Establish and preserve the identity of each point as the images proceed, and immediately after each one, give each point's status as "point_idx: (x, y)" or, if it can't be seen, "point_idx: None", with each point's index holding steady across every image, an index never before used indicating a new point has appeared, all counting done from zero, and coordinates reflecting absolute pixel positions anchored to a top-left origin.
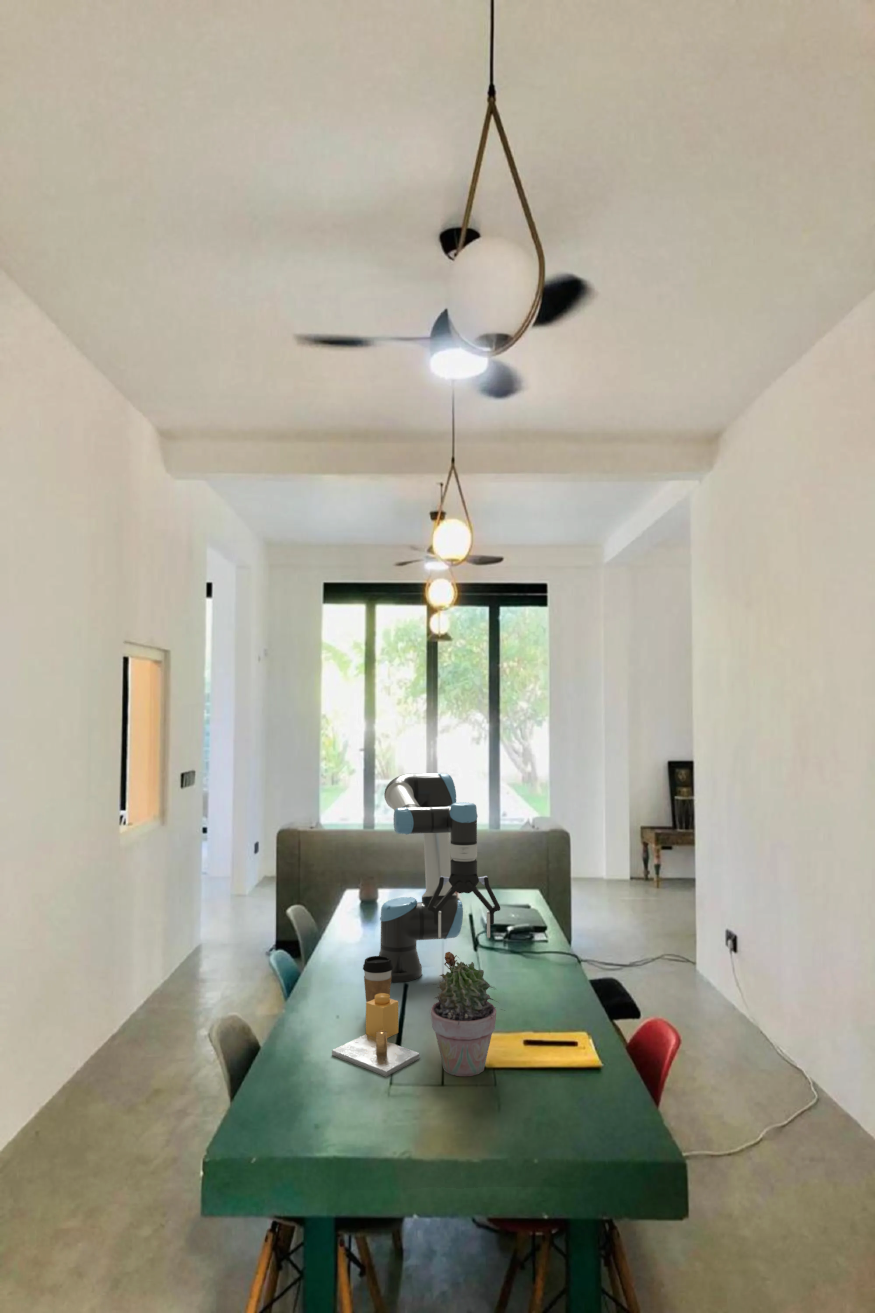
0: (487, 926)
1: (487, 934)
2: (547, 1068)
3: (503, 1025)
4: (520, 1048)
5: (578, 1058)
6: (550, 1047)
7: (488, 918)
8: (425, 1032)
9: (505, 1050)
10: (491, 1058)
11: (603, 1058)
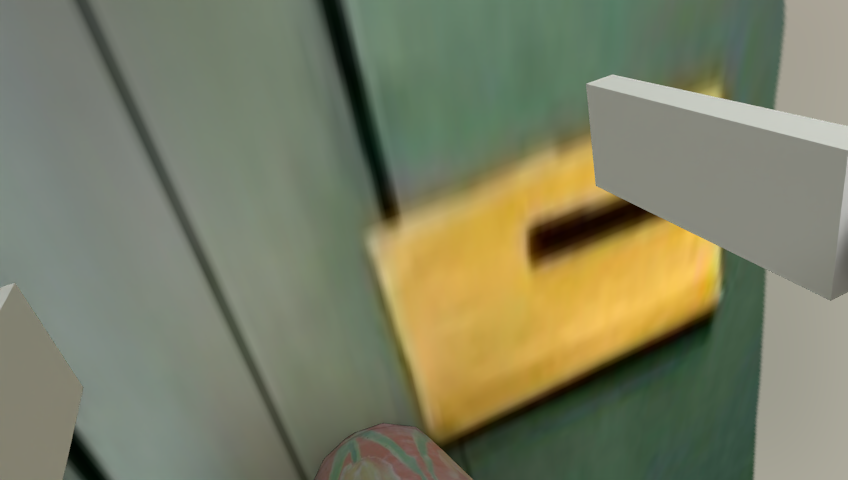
0: (683, 225)
1: (619, 195)
2: (594, 375)
3: (445, 127)
4: (521, 294)
5: (672, 287)
6: (607, 251)
7: (781, 264)
8: (135, 316)
9: (478, 327)
10: (444, 392)
11: (730, 261)
